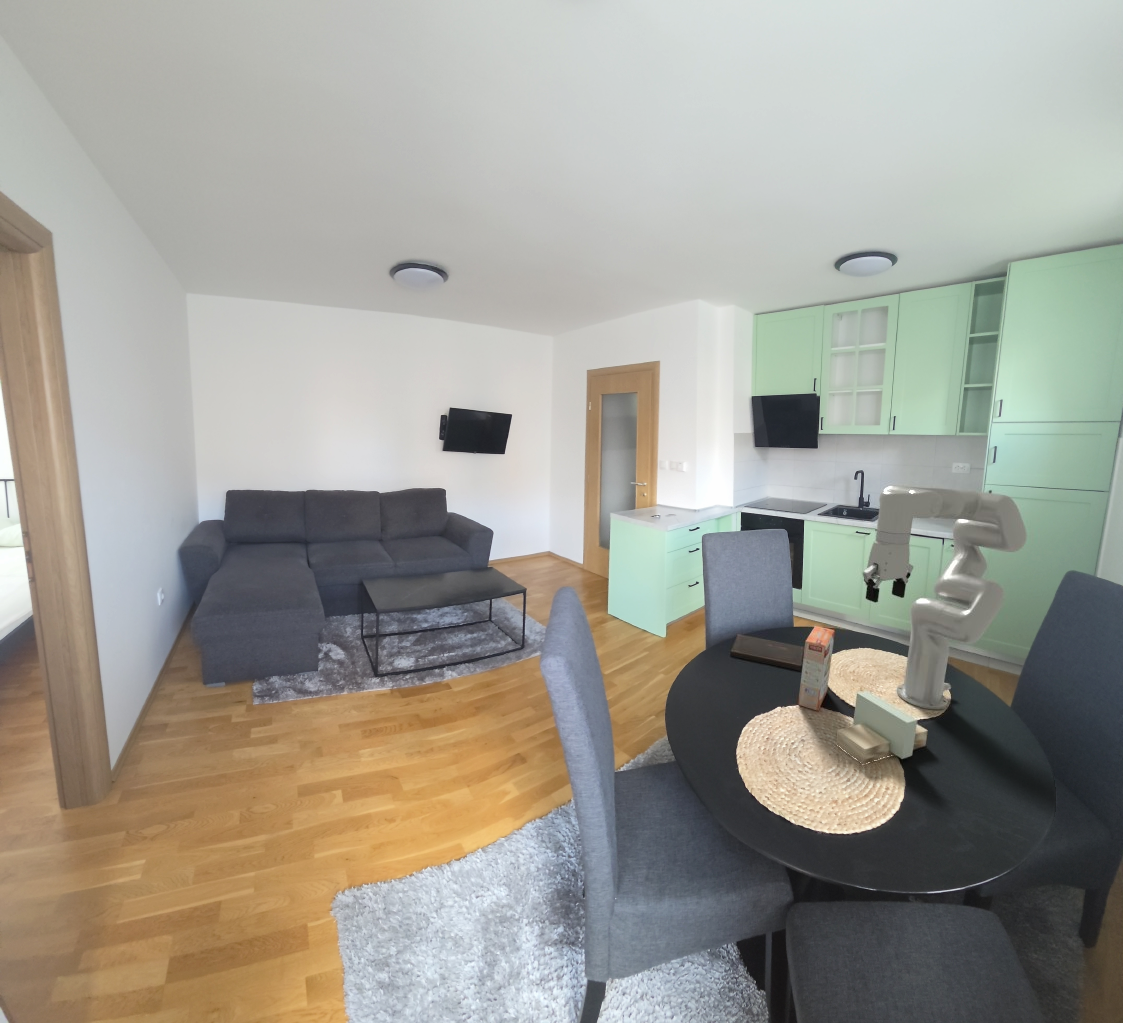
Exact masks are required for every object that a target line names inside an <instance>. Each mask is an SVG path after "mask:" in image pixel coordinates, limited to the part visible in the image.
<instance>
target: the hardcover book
mask: <svg viewBox="0 0 1123 1023" xmlns="http://www.w3.org/2000/svg"><path fill="white" fill-rule="evenodd" d="M804 650H805V646H800V645H795V644H790V643H786V642H779V641H775V640H770V639H765V638H759V637H756V636H755V637H754V636H748V635H744V634H738V633H737V636H736V637H735V640H734V642H733V645H732V648H731V650H730V657H734V658H740V659H744V660H747V661H753V662H757V663H762V664H765V665H766V664H767V665H772V666H777V667H780V668H785V669H791V670H795V671H799V672H802V666H803V659H804Z"/></svg>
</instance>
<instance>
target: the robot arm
mask: <svg viewBox="0 0 1123 1023" xmlns="http://www.w3.org/2000/svg"><path fill="white" fill-rule="evenodd" d="M878 499H879V500H878V501H879V510H878V518H877V526H876V533H875V541H873V543H872V546H871V548H870V552H869V556H868V560H867V566H866V569H865V570H864V571H862V576H863V581H864V583H865V586H866V590H865V592H866V593H865V600H868V601H870V602H873V603H874V604H875V603H878V602H879V596H880V588H879V586H880V584H881V583H882V582H885V581H887V582H888V581H891V580H893V582H892V588H891V595H893V596H895V597H897V598H900V599H902V598H905V592H906V588H907V587H906V585H907V584H908V583H909V578H911V575H912V574H911V573H912V571H913V569H914V565H912V564H911V563H910V551H911V550H910V542H911V534H912V526H913V519H915V518H916V519H930V518H933V519H939V520H940V519H941V520H956V521H955V522H954V524H953V527H952V539H953V556H952V558H951V560H950V561H949V563H948V564H947V566H946V567H945V569H943V571H942V573H941V574H940V576H939V577H938V579H937V580H936V582H935V584H934V586H933V593H934V595H935V596H936V597H937V598H939V599H937V598H932V597H920V598H918V599H916V600H915V601H913V603H912V604H911V606H910V610H909V617H910V618H909V619H910V638H909V639H910V640H909V646H908V651H907V652H908V654H907V660H906V668H905V675H904V681H903V684H899V685H898V686H897V687H896V693H897V696H899V697H900V698H901V699H902V700H903V701H906V702H907V703H909V704H912V705H914V706H915V707H919V708H923V709H928V710H943V709H945V708H946V707H947V706H948V700H947V698H946V696H945V695H944V692H945V691H947V690H951V688H952V685H951V684H950V683H948V682H945V679H946V671H947V665H948V658H949V654H950V646H949V642H948V639H951V640H952V641H956V642H959V643H962V644H965V645H972V644H976V643H977V642H978V641H979V640H980V639H981V638H982V636H983V635H984V633H985V632H986V631H987V630H988V628H989V626H990V624H991V623H992V622H993V620H994V619H995V618H996V616H997V614H998V613H999V611H1000V609H1001V608H1002V605H1003V602H1004V600H1005V591H1004V588H1003V586H1001V585H1000V584H999V583H998V582H996V581H993V580H990V579H987V578H983V576H984V574H986V571H987V569H988V563H987V560H986V558H985V556H984V555H983V553H982V550H981V548H986V549H991V550H996V551H1000V552H1005V553H1015V552H1018V551H1020V550H1021V549H1023V548H1024V546H1025V545H1026V541H1027V536H1028V535H1027V530H1026V526H1025V523H1024V521H1023V517H1022V514H1021V512H1020V510H1019V508H1018V506H1017V504H1016V503H1015V501H1014V500H1013V499H1012V497H1010V496H1008V495H1005V494H999V493H991V492H983V491H975V490H968V489H966V490H965V489H954V488H953V489H952V488H939V487H938V488H937V487H935V488H934V487H917V486H916V487H915V486H904V485H890V486H887V487H886V488H884V489H883V490H882V491H881V493H880V495H879V498H878ZM980 547H981V548H980ZM874 580H875V581H874Z"/></svg>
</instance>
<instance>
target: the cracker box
mask: <svg viewBox="0 0 1123 1023" xmlns="http://www.w3.org/2000/svg"><path fill="white" fill-rule="evenodd" d="M835 633H836V631H835V629H832V628H831V629H830V628H826V627H822V626H818V625H815V626H814V627H813V629H812V630H811V632H810V634H809V635H808V637H807V639H806V640H805V644H804V650H803V658H802V667H801V675H800V676H801V678H800V685H799V686H800V687H799V694H798V706H800V707H804V708H806V709H809V708H810V709H809V710H812V709H813V711H815V710H817V711H816V712H819V710H820V708H821V706H822V704H823V701H824V699H825V698H826V697H825V696H826V695H827V692H828V688H829V680H830V674H831V673H830V671H831V670H830V669H831V664H832V656H833V649H834V642H835V641H834V640H835Z"/></svg>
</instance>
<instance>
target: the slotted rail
mask: <svg viewBox="0 0 1123 1023" xmlns="http://www.w3.org/2000/svg"><path fill="white" fill-rule="evenodd" d="M927 735H928V729H926V728H925V727H923V726H921V725H919V724H918V723H917V726H916V733H915V739H914V746H913V750H917V749H920V748H923V747H926V744H927V737H928V736H927ZM836 744H837V745H838V746H840V747H841V748H842V749H843V750H845V751H846V752H847V753H849V754H850V755H851V756H853V757H854V758H856V759H857V760H858V761H859V762H861V763H862V764H866V763H868V762H872V761H874V760H878V759H880V758H883V757H887V756H891V755H894V756H896V755H895V754H894V753H892V752H891V751H889V744H890V742H889V741H888V740H886V739H885V738H883V737H881V736H880V735H878V734H877V733H875V732H874V731H872V730H871V729H869V728H868V727H866V726H865V725H863V724H858V725H855V726H853V725H852V726H848V727H844V728H841V729H840V728H839V729H837V732H836V741H835V745H836ZM843 750H842V751H843ZM847 753H846V754H847ZM851 756H850V757H851ZM891 757H892V756H891ZM878 761H879V760H878ZM859 762H858V763H859ZM872 763H873V762H872ZM862 764H861V765H862ZM866 765H867V764H866Z"/></svg>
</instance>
